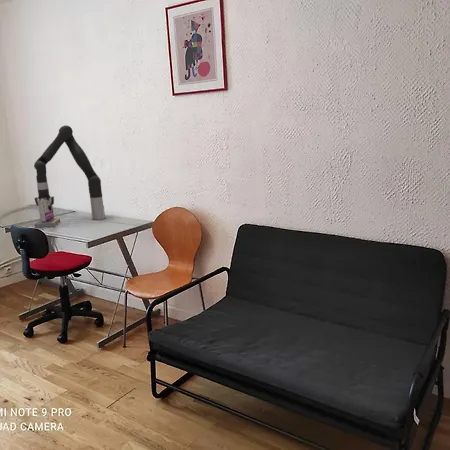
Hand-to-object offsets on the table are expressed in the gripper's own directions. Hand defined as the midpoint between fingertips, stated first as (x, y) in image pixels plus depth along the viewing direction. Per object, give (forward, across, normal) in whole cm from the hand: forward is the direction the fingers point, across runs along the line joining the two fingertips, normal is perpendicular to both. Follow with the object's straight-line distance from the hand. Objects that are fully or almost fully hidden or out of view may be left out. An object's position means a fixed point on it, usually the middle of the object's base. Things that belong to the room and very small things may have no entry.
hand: (46, 210), depth 345 cm
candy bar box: (+7, 0, 0) cm, 7 cm away
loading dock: (+11, 0, 0) cm, 11 cm away
